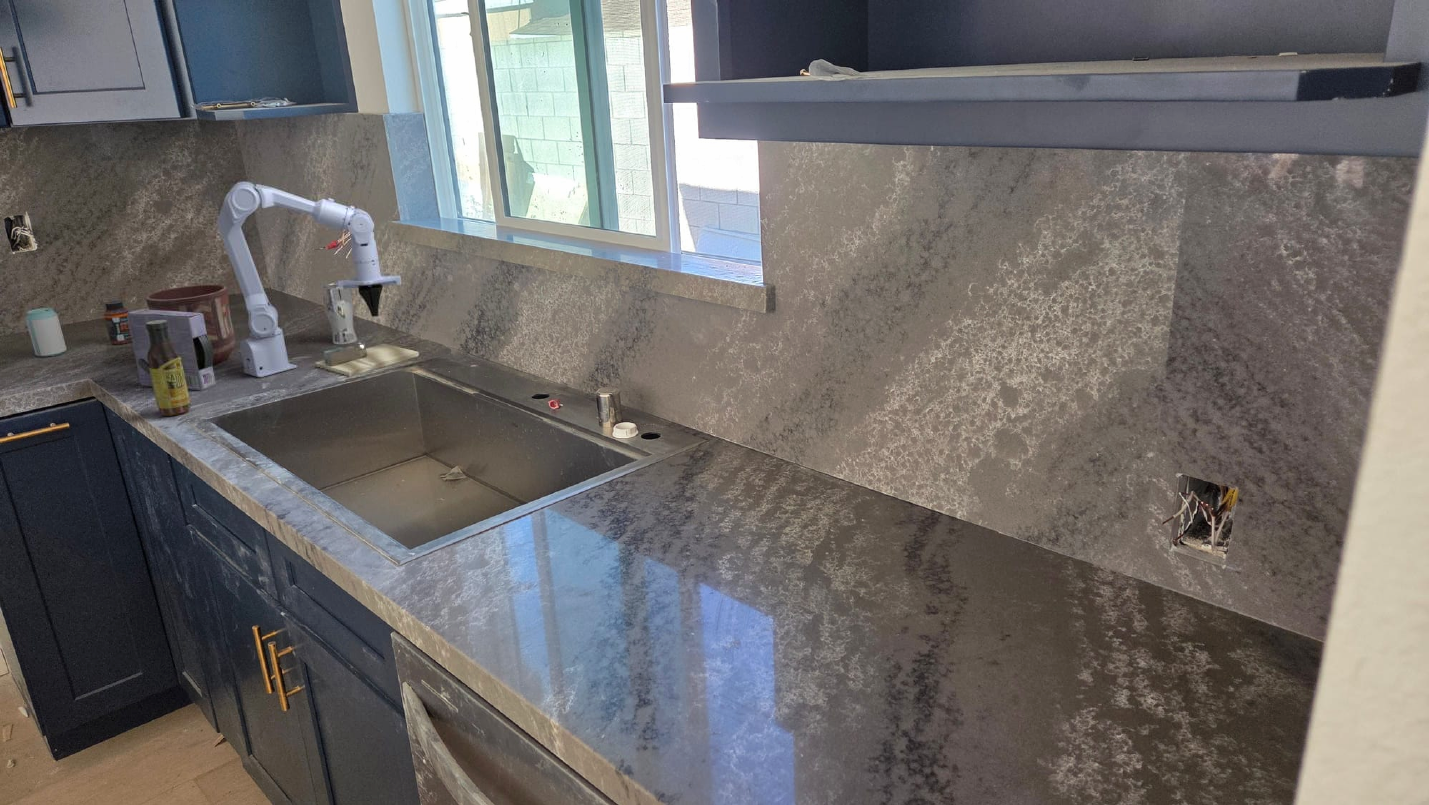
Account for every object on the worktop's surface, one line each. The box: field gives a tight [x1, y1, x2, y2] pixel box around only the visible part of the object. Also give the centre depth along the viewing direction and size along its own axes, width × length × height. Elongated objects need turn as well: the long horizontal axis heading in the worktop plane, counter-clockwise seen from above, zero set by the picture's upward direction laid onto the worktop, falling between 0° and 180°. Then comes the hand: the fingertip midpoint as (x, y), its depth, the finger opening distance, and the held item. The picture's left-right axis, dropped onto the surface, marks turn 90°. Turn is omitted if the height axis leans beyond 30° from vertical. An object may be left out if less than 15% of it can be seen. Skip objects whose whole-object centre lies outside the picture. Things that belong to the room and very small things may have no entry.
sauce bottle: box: [146, 320, 191, 417], centre depth 211 cm, size 7×6×20 cm
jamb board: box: [314, 343, 420, 377], centre depth 244 cm, size 19×15×4 cm
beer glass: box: [321, 282, 358, 345], centre depth 261 cm, size 7×7×15 cm
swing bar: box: [326, 341, 367, 366], centre depth 241 cm, size 10×3×3 cm, turn 140°
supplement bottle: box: [103, 300, 133, 345], centre depth 273 cm, size 6×6×11 cm
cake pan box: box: [127, 308, 217, 392], centre depth 230 cm, size 19×5×18 cm, turn 72°
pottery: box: [145, 284, 236, 366], centre depth 249 cm, size 18×18×18 cm
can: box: [25, 307, 67, 357], centre depth 264 cm, size 7×7×12 cm
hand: (375, 315), depth 246 cm, fingers closed
